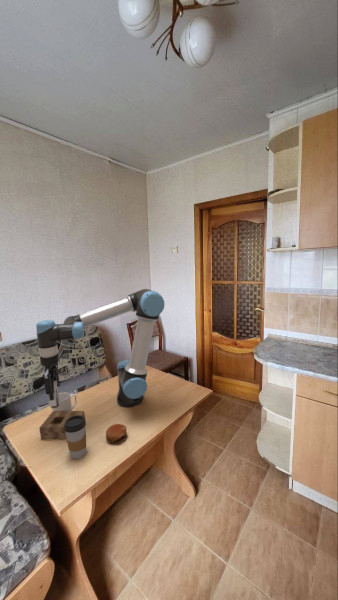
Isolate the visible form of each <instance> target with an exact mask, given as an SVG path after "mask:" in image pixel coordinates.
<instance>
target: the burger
mask: <svg viewBox="0 0 338 600" xmlns="http://www.w3.org/2000/svg"><path fill="white" fill-rule="evenodd" d="M127 432H128V431H127V427H126V425H124V424H122V423H114V424H112V425H110V426H109V427H108V428H107V429H106V432H105V439H106V442H108V443H111V444H112V443H113V444H118V443H122V442H124V441H125V440H126V439H127V437H128V433H127Z"/></svg>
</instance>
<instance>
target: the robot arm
mask: <svg viewBox="0 0 338 600" xmlns="http://www.w3.org/2000/svg"><path fill="white" fill-rule="evenodd" d="M164 309H165V300H164V297H163V296H162V295H161V293H159V292H157V291H155V290H152V289H149V288H144V289H140V290H137V291H135V292H133V293H130V294H127V296H126V297H125V298H122V299H119V300H116V301H113V302H109V303H107V304H105V305H101V306H99V307H95V308H93V309H91V310H88V311H84V312H82V313H79V314H76V315H70V316H68V317H66V318H65V319H64V321H63V323H55V320H54V319H47V320H41V321H40V320H39V322H37V323H36V326H35V327H36V338H37V344H38V349H37V350H38V353H39V360H40V362H39V363H40V365H41V366H42V367H44V374H42V378H43V381H44V383H43V384H44V388H45V389H44V390H45V395H48V400H49V401H48V402H49V407H51V406H56V405H57V403H56V395H55V392H54V380H56V381H57V390H58V399H59V387H60V386H61V384H60V377H59V374H60V373H59V363H60V357H59V348H58V342H60V341H61V342H62V341H70V340H78V339H83V338H84V337H85V328H88V327H91V326H93V325H96V324H100V323H102V322H105V321H107V320H110V319H112V318H116V317H118V316H121V315H123V314H126V313H130V312H132V313H134V312H135V316H136V318H137V324H136V327H135V333H134V338H133V342H132V345H131V346H132V347H131V352H130V357H129V359H124V360H121V361H119V362H118V363H117V365H116V367H117V368H116V370H117V377H118V379H117V380H118V390H117V396H116V403H117V405H118V406H120V407H122V408H133V407H137V406H138V405H140V404H141V403H142V402H143V401H144V399H145V396H144V395H145V393H146V392H147V389H148V383H147V376H148V369H147V368H146V367H147V362H148V356H149V352H150V346H151V342H152V337H153V333H154V329H155V324H156V322H158V321H159V319H160V314H161V313H162V312H163V311H164Z"/></svg>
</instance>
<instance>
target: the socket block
mask: <svg viewBox="0 0 338 600" xmlns="http://www.w3.org/2000/svg"><path fill="white" fill-rule="evenodd" d="M76 415H81V416H83V417H84V419H85V420H86V415H85V410H72V411H53V410H52V411H51V413H50V414H49V415H48V417H47V418H46V419H45V420H44V421H43V423H42V424H41V425H40V426H39V435H40V440H41V441H43V440H67V439H66V433H65V430H64V425H65V422H66V420H67V419H68V418H70V417H72V416H76Z"/></svg>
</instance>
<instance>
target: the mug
mask: <svg viewBox="0 0 338 600" xmlns="http://www.w3.org/2000/svg"><path fill="white" fill-rule="evenodd" d="M73 396H74V404H73V405H72V399H71V398H72V397H73ZM77 401H78V400H77V394H76V393H73V394H71V393H70V392H66V391H65V392H60V393H59V406H58V407H57V408H52V412H53V411H73V409H74V408H75V407H76V405H77Z"/></svg>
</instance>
